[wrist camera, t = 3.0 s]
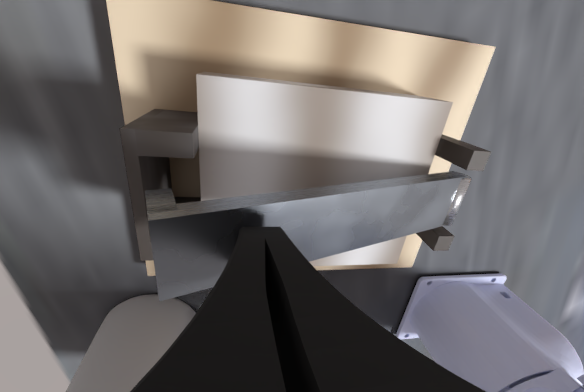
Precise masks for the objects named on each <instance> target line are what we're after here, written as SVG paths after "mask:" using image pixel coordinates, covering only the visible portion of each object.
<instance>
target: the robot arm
mask: <svg viewBox="0 0 584 392" xmlns="http://www.w3.org/2000/svg"><path fill="white" fill-rule="evenodd" d="M505 281H506V276H505V275H504V274H502V273H499V274H476V275H452V276H428V277H421V278H419V279H418V281H417V283H416V286H415V288H414V291H413V293H412V296H411V298H410V301H409V303H408V306H407V308H406V311H405V313H404V316H403V318H402V321H401V323H400V326H399V328H398V331H397V333H396V336H397V337H398V338H397V337H396V336H394V335H393V334H392V333H390V332H389V331H387V330H386V329H385V328H383V327H382V326H380V325H379V324H378V323H376V322H375V321H374V320H372V319H371V318H370V317H368V316H367V315H366V314H364V313H363V312H362V311H361V310H359V309H358V308H357V307H356V306H355V305H353V304H352V303H351V302H350V301H349V300H348V299H346V298H345V297H344V296H343V295H342V294H341V293H339V292H338V291H337V290H336V289H335V288H334V287H333V286H332V285H331V284H330V283H329V282H328V281H327V280H326V279H325V278H324V277H323V276H322V275H321V274H320V273H319V272H318V271H317V270H316V269H315V268H314V267H313V266H312V264H311V263H310V262H309V261H308V260H307V259H306V258H305V257H304V255H303V254H302V253H301V252H300V251H299V249H298V248H297V247H296V246H295V245H294V243H293V242H292V241H291V240H290V238H289V237H288V236H287V234H286V233H285V232H284V230H283V229H282V228H281V227H242V228H241V229H239V235H238V239H237V242H236V245H235V247H234V250H233V252H232V254H231V256H230V258H229V260H228V262H227V264H226V266H225V268H224V270H223V272H222V274H221V275H220V277H219V279H218V280H217V282H216V284H215V286H214V287H213V289H212V291H211V292H210V294H209V295H208V297H207V298H206V300H205V301H204V303H203V304H202V306H201V307H200V308H199V310H198V311H197V313H196V314H195V315H194V317H193V318H192V320H191V321H190V322H189V324H188V325H187V326H186V327H185V329H184V330H183V331H182V332H181V334H180V335H179V336H178V337H177V339H176V340H175V341H174V343H173V344H172V345H171V346H170V347H169V349H168V350H167V351H166V352H165V353H164V355H163V356H162V357H161V358H160V359H159V360H158V362H157V363H156V364H155V365H154V366H153V367H152V368H151V369H150V370H149V371H148V373H147V374H146V375H145V376H144V377H143V378H142V379H141V380H140V381H139V382H138V383H137V385H136V386H135V387H134V388H133V389H132V390H131V391H130V392H584V388H583V387H582V384H583V385H584V370H583V366H582V363H581V360H580V358H579V356H578V354H577V353H576V351H575V349H574V348H573V346H572V345H571V344H570V342H569V341H568V340H567V339H566V338H565V337H564V336H563V335H562V334H561V333H560V332H559V331H558V330H557V329H556V328H554V327H553V326H552V325H551V324H550V323H549V322H547V321H546V320H545V319H544V318H543V317H541V316H540V315H539V314H538V313H537V312H535V311H534V310H533V309H532V308H531V307H530V306H528V305H527V304H526V303H525V302H524V301H522V300H521V299H520V298H519V297H518V296H517V295H515V294H514V293H513V292H512V291H511V290H509V289H508V288H507V287H506V286H505V285H504V282H505ZM410 338H420V340H421V341H422V343H423V344H424V346H425V347H426V349H427V350H428V352H429V353H430V355H431V356H432V358H433V359H434V361H435V362H434V361H433V360H431V359H429V358H428V357H426V356H424V355H423V354H421V353H420V352H418V351H417V350H415V349H414V348H412V347H411V346H409V345H408V344H406V343H404V342H403V341H401V340H400V339H410Z"/></svg>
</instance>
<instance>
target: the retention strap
mask: <svg viewBox="0 0 584 392" xmlns="http://www.w3.org/2000/svg"><path fill="white" fill-rule="evenodd" d="M471 179H472V178H471V177H469V176H467V175H465V174H462V173H458V172H454V171H451V172H442V173H434V174H425V175H417V176H408V177H400V178H391V179H383V180H374V181H366V182H357V183H349V184H340V185H332V186H323V187H315V188H306V189H298V190H289V191H281V192H272V193H264V194H255V195H247V196H238V197H230V198H221V199H213V200H204V201H196V202H187V203H179V204H176V202H175V199H174V196H173V192H172V189H171V188H167V189H157V190H146V191H145V196H146V205H147V215H148V223H149V231H150V238H151V245H152V253H153V260H154V267H155V275H156V282H157V290H158V297H159V302H160V301H163V300H167V299H171V298H175V297H178V296H182V295H186V294H190V293H193V292H197V291H201V290H205V289H208V288H212V287H214V286H215V284H216V282H217V280H218V279H219V277H220V275H221V274H222V272H223V270H224V268H225V266H226V264H227V262H228V260H229V258H230V256H231V254H232V252H233V250H234V247H235V245H236V242H237V239H238V235H239V229H241V228H242V227H281V228H282V229H283V230H284V232H285V233H286V234H287V236H288V237H289V238H290V240H291V241H292V242H293V243H294V245H295V246H296V247H297V248H298V249H299V251H300V252H301V253H302V254H303V255H304V257H305V258H306V259H307V260H308V261H309V262H310V261H313V260H317V259H321V258H325V257H328V256H332V255H336V254H340V253H343V252H347V251H351V250H355V249H358V248H362V247H366V246H370V245H373V244H377V243H381V242H385V241H388V240H392V239H396V238H400V237H403V236H407V235H411V234H415V233H418V232H422V231H426V230H430V229H433V228H437V227H441V226H445V225H452V224H453V222H454V219H455V217H456V215H457V212H458V210H459V207H460V205H461V203H462V200H463V198H464V196H465V193H466V191H467V189H468V186H469V184H470V182H471Z"/></svg>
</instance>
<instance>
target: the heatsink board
mask: <svg viewBox="0 0 584 392" xmlns="http://www.w3.org/2000/svg"><path fill="white" fill-rule="evenodd" d="M106 3H107V9H108V16H109V23H110V29H111V36H112V43H113V49H114V56H115V62H116V69H117V76H118V82H119V89H120V95H121V102H122V109H123V115H124V122H125V126H123V127H121V128H120V134H121V141H122V147H123V153H124V159H125V166H126V172H127V178H128V184H129V190H130V197H131V203H132V209H133V215H134V222H135V228H136V234H137V240H138V246H139V253H140V259H141V261H146V267H147V274H148V276H156V275H155V267H154V260H153V253H152V245H151V238H150V231H149V223H148V215H147V205H146V196H145V191H146V190H157V189H167V188H171V189H172V192H173V196H174V199H175V202H176V204H179V203H187V202H196V201H204V200H213V199H221V198H230V197H238V196H247V195H255V194H264V193H272V192H281V191H289V190H298V189H306V188H315V187H323V186H332V185H340V184H349V183H357V182H366V181H374V180H383V179H391V178H400V177H408V176H417V175H425V174H434V173H442V172H448V171H449V168H450V166H451V163H453V164H455V165H457V166H459V167H461V168H463V169H465V170H476V171H483V170H484V168H485V165H486V163H487V161H488V159H489V156H490V154H491V152H490V151H487V150H485V149H482V148H479V147H476V146H474V145H471V144H468V143H465V142H462V141H460V139H461V137H462V134H463V132H464V129H465V126H466V124H467V121H468V118H469V116H470V113H471V111H472V108H473V105H474V103H475V100H476V97H477V95H478V92H479V89H480V87H481V84H482V82H483V79H484V76H485V74H486V71H487V68H488V66H489V63H490V61H491V58H492V55H493V53H494V50H495V47H493V46H487V45H481V44H474V43H468V42H462V41H456V40H450V39H444V38H438V37H432V36H426V35H420V34H413V33H407V32H401V31H395V30H389V29H383V28H377V27H371V26H365V25H358V24H352V23H346V22H340V21H334V20H328V19H322V18H316V17H310V16H304V15H297V14H291V13H285V12H279V11H273V10H267V9H261V8H255V7H249V6H243V5H236V4H230V3H224V2H218V1H212V0H106ZM453 238H454V235H452V234H451V233H450V232H449V231H447V230H446V229H445V228H444V227H442V226H441V227H437V228H433V229H430V230H426V231H422V232H418V233H415V234H411V235H407V236H403V237H400V238H396V239H392V240H388V241H385V242H381V243H377V244H373V245H370V246H366V247H362V248H358V249H355V250H351V251H347V252H343V253H340V254H336V255H332V256H328V257H325V258H321V259H317V260H313V261H310V263H311V264H312V266H313V267H314V268H315V269H316V270H342V269H372V268H402V267H412V266H413V263H414V261H415V258H416V255H417V253H418V250H419V247H420V245H421V242H422V240H423V241H424V242H425V243H426V244H427V245H428V246H429V247H430V248H431V249H432V250H433V251H444V250H449V248H450V245H451V243H452V241H453Z"/></svg>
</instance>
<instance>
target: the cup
mask: <svg viewBox="0 0 584 392" xmlns="http://www.w3.org/2000/svg"><path fill="white" fill-rule="evenodd" d="M195 314H196V313H195V311H194V310H193V309H192V308H191V307H190V306H189V305H188V304H186V303H185V302H183V301H181V300H179V299H177V298H171V299H167V300H163V301H160V302H159V297H158V294H150V295H141V296H137V297H133V298H130V299H128V300H126V301H124V302H122V303H120V304H118V305H117V306H115V307H114V308H113V309H112V310H111V311H110V312H109V313H108V314H107V316H106V318H105V319H104V321H103V323H102V324H101V326H100V328H99V329H98V331H97V333H96V335H95V337H94V339H93V341H92V343H91V345H90V346H89V348H88V350H87V352H86V354H85V356H84V358H83V360H82V362H81V364H80V366H79V367H78V369H77V371H76V373H75V375H74V377H73V379H72V381H71V383H70V385H69V386H68V388H67V390H66V392H130V391H131V390H132V389H133V388H134V387H135V386H136V385H137V383H138V382H139V381H140V380H141V379H142V378H143V377H144V376H145V375H146V374H147V373H148V371H149V370H150V369H151V368H152V367H153V366H154V365H155V364H156V363H157V362H158V360H159V359H160V358H161V357H162V356H163V355H164V353H165V352H166V351H167V350H168V349H169V347H170V346H171V345H172V344H173V343H174V341H175V340H176V339H177V337H178V336H179V335H180V334H181V332H182V331H183V330H184V329H185V327H186V326H187V325H188V324H189V322H190V321H191V320H192V318H193V317H194V315H195Z"/></svg>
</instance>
